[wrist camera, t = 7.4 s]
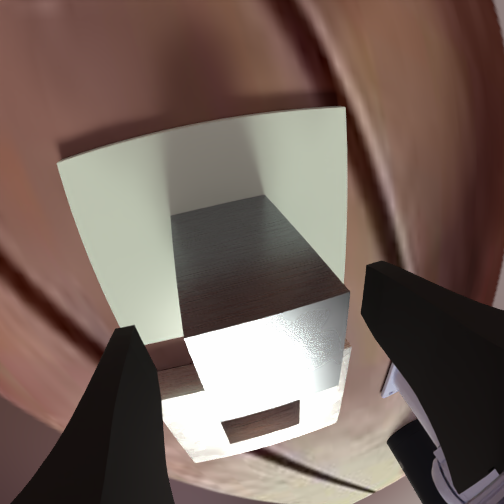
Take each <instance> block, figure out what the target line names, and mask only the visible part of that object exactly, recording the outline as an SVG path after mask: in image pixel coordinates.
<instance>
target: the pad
mask: <svg viewBox="0 0 504 504" xmlns="http://www.w3.org/2000/svg"><path fill="white" fill-rule="evenodd" d="M57 166H58V169H59V173H60V176H61V180H62V183H63V186H64V189H65V193H66V196H67V199H68V202H69V205H70V208H71V211H72V214H73V217H74V220H75V223H76V225H77V228H78V231H79V234H80V236H81V239H82V242H83V244H84V247H85V249H86V252H87V254H88V257H89V259H90V262H91V264H92V267H93V269H94V272H95V274H96V276H97V279H98V281H99V283H100V285H101V288H102V290H103V292H104V294H105V297H106V299H107V301H108V303H109V305H110V307H111V309H112V312H113V314H114V316H115V318H116V320H117V322H118V324H119V326H120V328H122V327H126V326H131V325H135V327H136V329H137V331H138V333H139V335H140V337H141V339H142V341H143V343H144V345H146V344H151V343H155V342H160V341H165V340H169V339H174V338H178V337H182V336H184V335H183V328H182V321H181V314H180V306H179V298H178V290H177V281H176V272H175V262H174V252H173V242H172V230H171V218H170V216H171V215H175V214H180V213H184V212H188V211H192V210H196V209H201V208H205V207H209V206H214V205H218V204H223V203H227V202H232V201H236V200H241V199H246V198H250V197H255V196H260V195H266V197H267V198H268V199H269V200H270V201H271V202H272V203H273V204H274V205H275V206H276V208H277V209H278V210H279V211H280V212H281V213H282V214H283V215H284V216H285V217H286V219H287V220H288V221H289V222H290V223H291V224H292V225H293V226H294V228H295V229H296V230H297V231H298V232H299V233H300V234H301V235H302V237H303V238H304V239H305V240H306V241H307V242H308V243H309V244H310V246H311V247H312V248H313V249H314V250H315V251H316V252H317V254H318V255H319V256H320V257H321V258H322V259H323V261H324V262H325V263H326V264H327V265H328V266H329V268H330V269H331V270H332V271H333V272H334V273H335V275H336V276H337V277H338V278H339V279H340V280H341V282H342V283H343V284H344V271H345V253H346V228H347V133H346V110H345V107H341V106H329V107H314V108H302V109H291V110H281V111H272V112H264V113H256V114H249V115H242V116H235V117H229V118H223V119H217V120H211V121H206V122H201V123H195V124H190V125H185V126H181V127H176V128H171V129H167V130H162V131H158V132H154V133H150V134H146V135H142V136H138V137H134V138H130V139H126V140H123V141H119V142H116V143H112V144H109V145H105V146H102V147H98V148H95V149H92V150H89V151H86V152H82V153H79V154H76V155H73V156H70V157H67V158H65V159H62V160H60V161H59V162H57Z"/></svg>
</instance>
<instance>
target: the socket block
mask: <svg viewBox="0 0 504 504" xmlns="http://www.w3.org/2000/svg"><path fill="white" fill-rule="evenodd" d="M350 353H351V345H350V344H349V342H348V341H347V339H346V338H345V344H344V352H343V359H342V366H341V373H340V380H339V385H338V386H335V387H333V388H330V389H327V390H325V391H322V392H319V393H316V394H314V395H311V396H308V397H305V398H302V399H299V400H296V401H293V402H290V403H287V404H284V405H281V406H277V407H274V408H271V409H267V410H264V411H261V412H257V413H254V414H250V415H246V416H243V417H239V418H235V419H231V420H227V421H223V422H219V421H218V418H217V416H216V414H215V412H214V410H213V407H212V405H211V403H210V401H209V398H208V396H207V394H206V391H205V389H204V387H203V384H202V382H201V380H200V377H199V375H198V372H197V370H196V368H195V365H194V364H190V365H186V366H181V367H177V368H172V369H167V370H162V371H157V374H158V380H159V386H160V393H161V399H162V416H163V421H164V422H165V424H166V425H167V426H168V428H169V429H170V431H171V432H172V433H173V435H174V436H175V437H176V439H177V440H178V441H179V443H180V444H181V445H182V447H183V448H184V449H185V450H186V452H187V453H188V454H189V456H190V457H191V458H192V459H193V461H194V462H195V463H198V462H203V461H208V460H213V459H218V458H223V457H227V456H231V455H235V454H239V453H243V452H247V451H251V450H255V449H259V448H262V447H266V446H269V445H273V444H276V443H279V442H282V441H286V440H289V439H292V438H295V437H298V436H301V435H304V434H307V433H309V432H312V431H315V430H318V429H320V428H323V427H326V426H328V425H331V424H334V423H336V422H337V419H338V415H339V410H340V405H341V401H342V396H343V391H344V386H345V381H346V375H347V370H348V364H349V358H350Z"/></svg>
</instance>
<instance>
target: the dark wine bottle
mask: <svg viewBox="0 0 504 504" xmlns="http://www.w3.org/2000/svg"><path fill="white" fill-rule="evenodd" d="M387 444H388V446H389V447H390V449H391V451H392V452H393V454H394V456H395V458H396V459H397V461H398V463H399V464H400V466H401V468H402V469H403V471H404V473H405V475H406V476H407V478H408V480H409V481H410V483H411V485H412V486H413V488H414V490H415V491H416V493H417V495H418V497H419V498H420V500H421V502H422V503H423V504H448V503H447V502H446V501H445V500H444V499H443V497H442V496H441V495H440V493H439V491H438V490H437V488H436V486H435V483H434V481H433V478H432V466H433V460H434V459H435V458H436V456H435V455H434V453H433V452H434V451H436V450H437V449H438V448H437V447H436V445H435V444H434V442H433V441H432V439H431V438H430V436H429V435H428V433H427V432H426V430H425V429H424V427H423V426H422V424H421V423H420V421H419V420H415V421H413V422H411V423H409V424H407V425H406V426H404V427H403V428H401V429H400V430H399V431H397V432H396V433H395V434H394V435H392V436H391V437H390V438H389V440H388V441H387Z"/></svg>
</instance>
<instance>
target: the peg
mask: <svg viewBox="0 0 504 504" xmlns="http://www.w3.org/2000/svg"><path fill="white" fill-rule="evenodd" d="M170 218H171V230H172V242H173V252H174V262H175V272H176V281H177V290H178V298H179V306H180V314H181V321H182V328H183V335H184V340H185V342H186V345H187V348H188V350H189V353H190V355H191V358H192V360H193V363H194V365H195V368H196V370H197V372H198V375H199V377H200V380H201V382H202V384H203V387H204V389H205V391H206V394H207V396H208V398H209V401H210V403H211V405H212V407H213V410H214V412H215V414H216V416H217V418H218V421H219V422H223V421H227V420H231V419H235V418H239V417H243V416H246V415H250V414H254V413H257V412H261V411H264V410H267V409H271V408H274V407H277V406H281V405H284V404H287V403H290V402H293V401H296V400H299V399H302V398H305V397H308V396H311V395H314V394H316V393H319V392H322V391H325V390H327V389H330V388H333V387H335V386H338V385H339V380H340V373H341V366H342V359H343V352H344V344H345V336H346V328H347V319H348V309H349V299H350V291H349V290H348V289H347V288H346V286H345V285H344V284H343V283H342V282H341V280H340V279H339V278H338V277H337V276H336V275H335V273H334V272H333V271H332V270H331V269H330V268H329V266H328V265H327V264H326V263H325V262H324V261H323V259H322V258H321V257H320V256H319V255H318V254H317V252H316V251H315V250H314V249H313V248H312V247H311V246H310V244H309V243H308V242H307V241H306V240H305V239H304V238H303V237H302V235H301V234H300V233H299V232H298V231H297V230H296V229H295V228H294V226H293V225H292V224H291V223H290V222H289V221H288V220H287V219H286V217H285V216H284V215H283V214H282V213H281V212H280V211H279V210H278V209H277V208H276V206H275V205H274V204H273V203H272V202H271V201H270V200H269V199H268V198H267V197H266V195H260V196H255V197H250V198H246V199H241V200H236V201H232V202H227V203H223V204H218V205H214V206H209V207H205V208H201V209H196V210H192V211H188V212H184V213H180V214H175V215H171V216H170Z"/></svg>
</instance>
